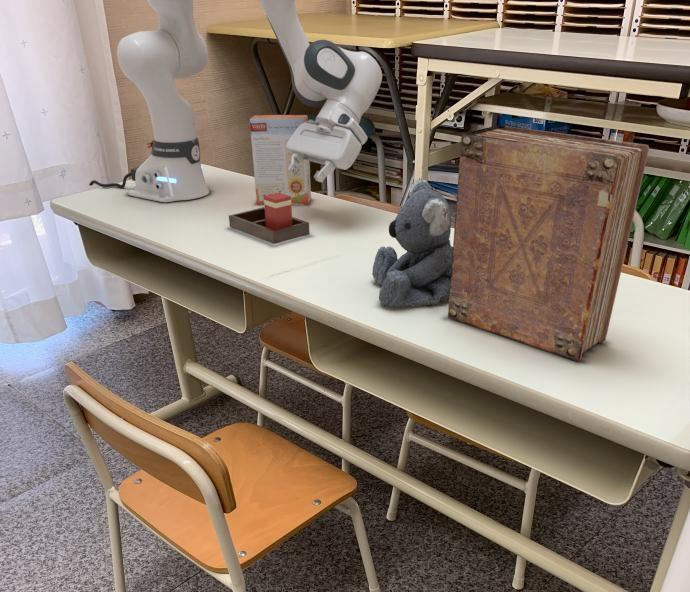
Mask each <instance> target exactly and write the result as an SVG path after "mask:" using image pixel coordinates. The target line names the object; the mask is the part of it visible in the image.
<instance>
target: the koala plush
mask: <svg viewBox="0 0 690 592" xmlns="http://www.w3.org/2000/svg"><path fill="white" fill-rule="evenodd" d="M410 184H411V185H410V188H409V190H408V199H406V201H405V202H404V204H403V205H402V206H401V207H400V209H399V211H398V213H397V215H396V217H395V219H393V220H392V221H391V222H389V225H388V234H389V236H390V237H391V238H393V239H395V240H396V241H397V243H398V244H399V246H401V248H402V249H403V250H405V251H406V252H405V253H404V254H402V255H401V256H400V257H399V258H398V253H397V252H396V249H395V248H393V247H391V246H389V245H388V246H387V247H386V246H381V247H379V248H378V249H377V251H376V254H375V256H374V262H373V265H372V272H371V275H372V278H373V280H374V281H375V282H377V285H380V286H381V288H380V289H379V294H378V301H379V302H380V304H381V305H382V306H384V307H389V308H399V309H400V308H411V307H416V306H435V305H436V304H438V303H439V302H440V301H446V300H449V295H450V281H451V268H452V255H453V245H451V240H450V237H451V232H452V214H451V207H450V204H449V203H448V201H447V199H445V197H444V195H442V194H441V193H439V192H438V191H436V190H433V188H432V186H431V185H430V183H429V182H428V181H427V180H425V179H423V177H421V178H418V180H414V181H413V183H410Z"/></svg>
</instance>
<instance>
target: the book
mask: <svg viewBox="0 0 690 592" xmlns="http://www.w3.org/2000/svg"><path fill="white" fill-rule="evenodd" d="M649 151H650V147H649V145H648V144H644V143H636V142H629V141H620V140H613V139H606V138H598V137H590V136H583V135H577V134H569V133H560V132H554V131H553V132H552V131H547V130H546V131H545V130H538V129H531V128H522V127H517V126H516V127H515V126H508V125H501V124H496V125H492V126H488V127H485V128H480V129H477V130H473V131H468V132H465V133H463V134H461V137H460V151H459V162H458V163H459V165H458V176H457V191H456V205H455V214H454V215H455V217H454V228H453V241H452V243H453V244H452V247H453V255H452V268H451V281H450V295H449V298H448V308H447V309H448V310H447V318H448V319H451V320H454V321H456V322H459V323H462V324H464V325H468V326H471V327H474V328H476V329H480V330H483V331H486V332H489V333H490V334H491V333H492V334H494V335H497V336H500V337H503V338H506V339H510V340H511V341H514V342H518V343H520V344H524V345H525V346H529V347H532V348H536V349H538V350H540V351H544V352H546V353H550V354H553V355H555V356H559V357H561V358H565V359H567V360H570V361H573V362H576V363H579V362H580V361H581V360H582V357H583V353H585V352H586V351H588V350H589V349H590V348H592V347H594V345H596V344H603V343H605V342H606V340H607V335H608V331H609V326H610V322H611V318H612V313H613V309H614V305H615V300H616V296H617V292H618V287H619V283H620V279H621V274H622V269H623V264H624V261H625V256H626V253H627V249H628V244H629V240H630V234H631V230H632V227H633V221H634V217H635V213H636V209H637V203H638V199H639V195H640V192H641V186H642V181H643V177H644V173H645V168H646V164H647V160H648V156H649Z"/></svg>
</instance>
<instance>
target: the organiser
mask: <svg viewBox="0 0 690 592" xmlns="http://www.w3.org/2000/svg"><path fill="white" fill-rule="evenodd" d="M228 222H229V223H228V224H229V227H230V228H232V229H234V230H237V231H240V232H243V233H245V234H248V235H250V236H253V237H255V238H258V239H260V240H263V241H266V242H268V243H271V244H273V245H275V244H279V243H282V242H286V241H290V240H293V239H297V238H300V237H305V236H308V235H310V222H308V221H306V220H302V219H300V218H297V217H294V216H292V226H288V227H285V228H281V229H277V230H272V229H269V228H266V219H265V206H263V207H258V208H253V209H250V210H245V211H241V212H237V213H233V214H229V215H228Z"/></svg>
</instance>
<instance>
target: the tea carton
mask: <svg viewBox="0 0 690 592" xmlns="http://www.w3.org/2000/svg"><path fill="white" fill-rule="evenodd" d="M292 204H293V203H291V196H288V195H285V194H282V193H275V194H271V195H267V196H264V204H263V205H264V206H263V207H264V208H265V219H266V228H269V229H272V230H277V229H281V228H285V227H288V226H292V217H293V211H292V209H293V207H292Z"/></svg>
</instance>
